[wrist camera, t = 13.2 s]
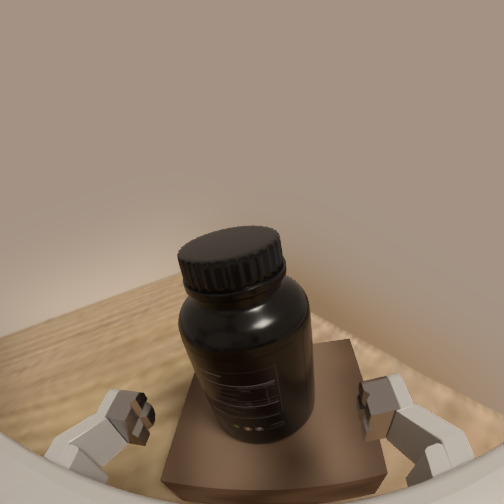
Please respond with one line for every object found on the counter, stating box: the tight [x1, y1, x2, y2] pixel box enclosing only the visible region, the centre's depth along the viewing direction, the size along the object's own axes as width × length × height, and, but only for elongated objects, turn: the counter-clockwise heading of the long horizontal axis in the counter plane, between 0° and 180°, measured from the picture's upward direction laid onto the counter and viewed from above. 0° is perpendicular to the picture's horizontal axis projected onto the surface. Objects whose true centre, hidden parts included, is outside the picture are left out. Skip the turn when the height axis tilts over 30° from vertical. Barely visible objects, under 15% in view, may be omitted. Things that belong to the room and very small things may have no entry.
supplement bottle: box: [178, 226, 315, 443], centre depth 15 cm, size 7×7×12 cm
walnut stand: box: [160, 339, 387, 504], centre depth 18 cm, size 13×13×4 cm
